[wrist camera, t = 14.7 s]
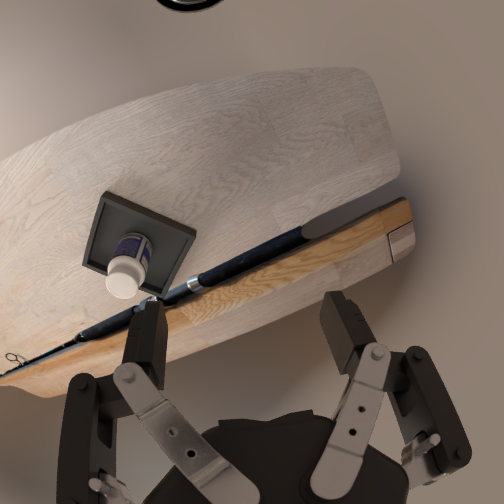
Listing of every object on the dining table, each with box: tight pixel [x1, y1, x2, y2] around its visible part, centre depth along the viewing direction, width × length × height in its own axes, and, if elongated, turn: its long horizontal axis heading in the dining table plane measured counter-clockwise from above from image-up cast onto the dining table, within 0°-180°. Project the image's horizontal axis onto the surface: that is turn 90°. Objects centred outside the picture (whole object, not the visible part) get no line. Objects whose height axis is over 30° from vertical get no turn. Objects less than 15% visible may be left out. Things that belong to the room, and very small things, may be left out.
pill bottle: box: [106, 233, 152, 299], centre depth 40 cm, size 6×6×10 cm
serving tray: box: [82, 191, 196, 299], centre depth 43 cm, size 16×14×2 cm
